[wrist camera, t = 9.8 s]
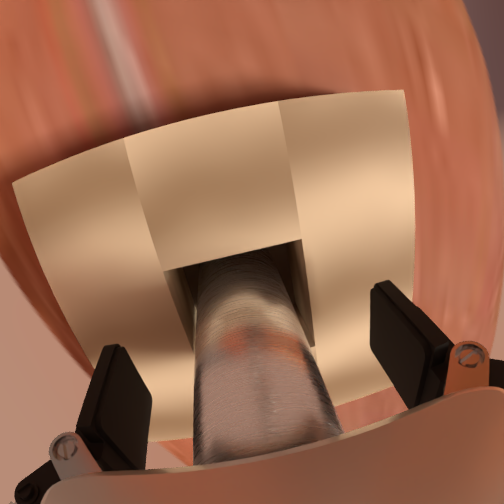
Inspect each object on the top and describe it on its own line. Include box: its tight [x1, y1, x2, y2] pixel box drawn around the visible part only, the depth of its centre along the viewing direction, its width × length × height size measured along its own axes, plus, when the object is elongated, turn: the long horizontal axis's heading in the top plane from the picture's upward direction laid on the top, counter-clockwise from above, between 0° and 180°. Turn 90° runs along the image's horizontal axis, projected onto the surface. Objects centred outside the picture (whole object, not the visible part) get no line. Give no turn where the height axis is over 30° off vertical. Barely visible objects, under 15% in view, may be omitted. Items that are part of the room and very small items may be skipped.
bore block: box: [12, 90, 415, 442], centre depth 16 cm, size 16×16×5 cm
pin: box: [193, 247, 345, 466], centre depth 11 cm, size 4×4×12 cm
